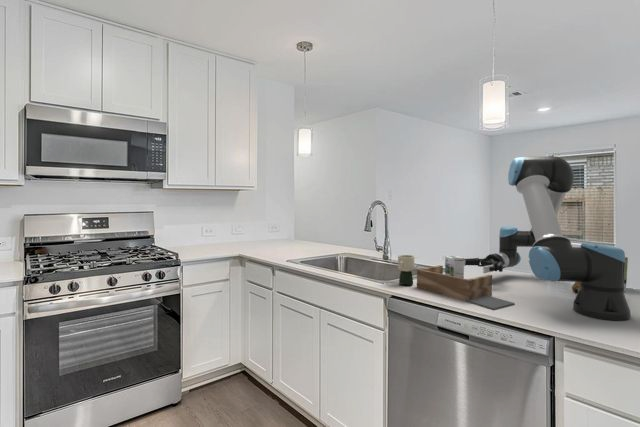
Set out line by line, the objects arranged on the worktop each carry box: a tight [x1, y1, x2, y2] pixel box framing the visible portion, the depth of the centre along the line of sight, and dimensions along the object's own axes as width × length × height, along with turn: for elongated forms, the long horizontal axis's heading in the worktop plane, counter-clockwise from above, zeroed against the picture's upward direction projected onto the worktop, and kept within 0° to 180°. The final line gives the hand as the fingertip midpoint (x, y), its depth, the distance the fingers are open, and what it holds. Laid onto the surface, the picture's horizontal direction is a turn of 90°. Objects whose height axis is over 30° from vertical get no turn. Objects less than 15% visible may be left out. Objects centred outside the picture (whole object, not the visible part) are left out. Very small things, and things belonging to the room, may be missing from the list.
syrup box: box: [444, 255, 465, 279], centre depth 149 cm, size 6×6×14 cm
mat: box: [465, 295, 515, 311], centre depth 132 cm, size 12×12×1 cm
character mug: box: [397, 254, 415, 286], centre depth 160 cm, size 11×7×13 cm, turn 140°
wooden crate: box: [416, 265, 493, 302], centre depth 148 cm, size 16×25×8 cm, turn 34°
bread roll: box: [572, 282, 580, 295], centre depth 143 cm, size 10×10×8 cm
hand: (469, 267), depth 155 cm, fingers open, 13 cm apart
